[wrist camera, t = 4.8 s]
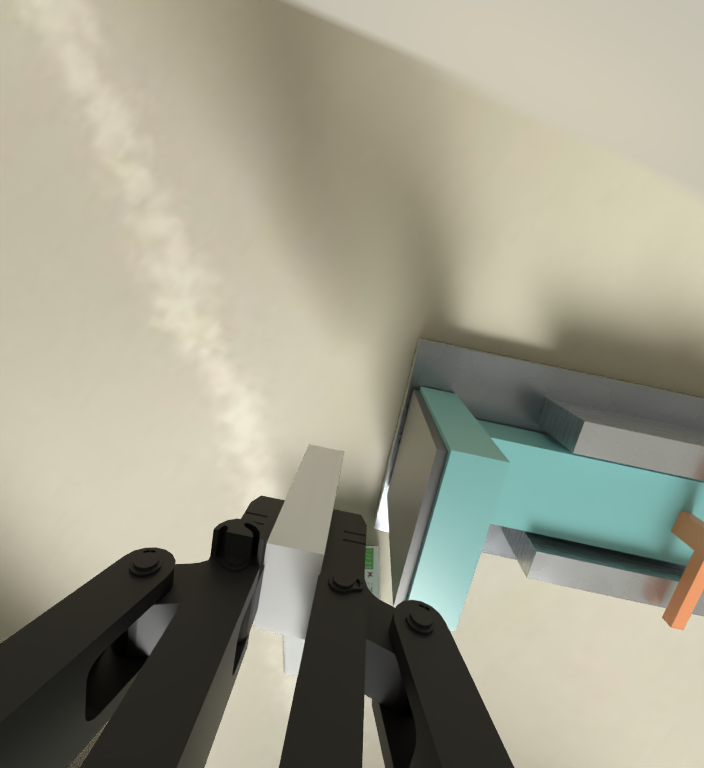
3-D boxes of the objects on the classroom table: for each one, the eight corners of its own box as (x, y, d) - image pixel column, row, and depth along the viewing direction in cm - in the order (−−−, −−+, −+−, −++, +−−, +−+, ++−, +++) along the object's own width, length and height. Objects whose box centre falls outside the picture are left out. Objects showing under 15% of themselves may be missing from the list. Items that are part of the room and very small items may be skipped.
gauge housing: (373, 519, 25) (373, 604, 18) (418, 337, 22) (437, 357, 16) (790, 609, 25) (945, 728, 18) (888, 437, 22) (1117, 501, 15)
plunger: (382, 510, 24) (386, 638, 15) (418, 367, 22) (447, 419, 13) (648, 567, 24) (810, 730, 15) (711, 429, 21) (943, 525, 13)
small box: (380, 542, 26) (381, 599, 21) (379, 615, 27) (380, 684, 22) (294, 540, 26) (276, 595, 21) (298, 612, 27) (282, 679, 23)
